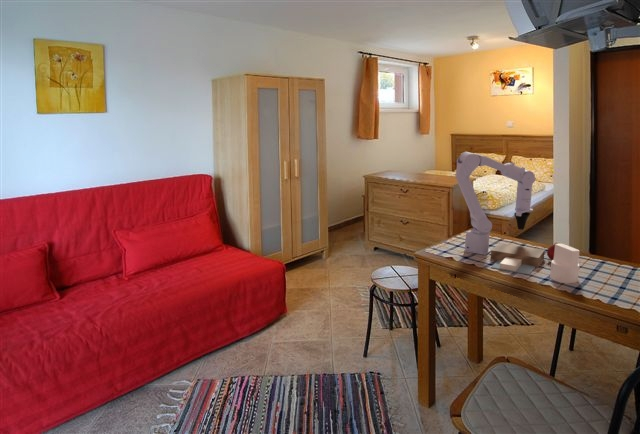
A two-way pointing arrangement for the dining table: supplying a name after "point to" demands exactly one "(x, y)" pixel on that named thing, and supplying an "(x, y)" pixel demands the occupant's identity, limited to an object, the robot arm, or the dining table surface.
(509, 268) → the tan tilted rectangular prism
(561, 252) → the base with upright slab
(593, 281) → the dining table surface
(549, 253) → the onion
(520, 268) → the mat
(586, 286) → the dining table surface
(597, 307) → the dining table surface
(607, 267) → the dining table surface
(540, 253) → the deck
